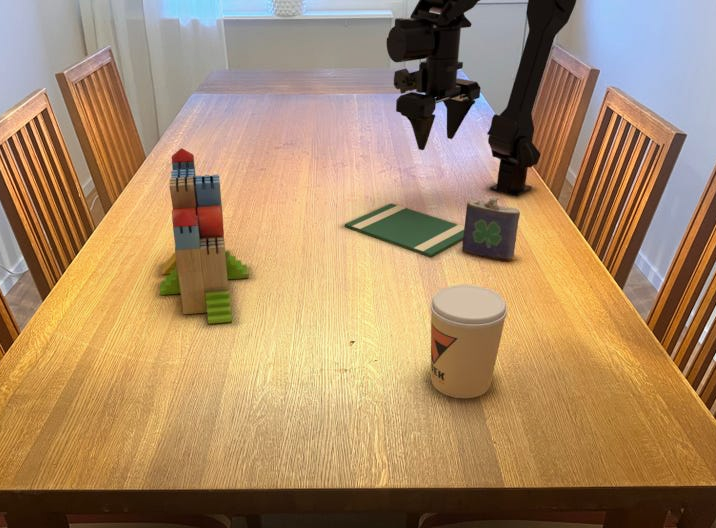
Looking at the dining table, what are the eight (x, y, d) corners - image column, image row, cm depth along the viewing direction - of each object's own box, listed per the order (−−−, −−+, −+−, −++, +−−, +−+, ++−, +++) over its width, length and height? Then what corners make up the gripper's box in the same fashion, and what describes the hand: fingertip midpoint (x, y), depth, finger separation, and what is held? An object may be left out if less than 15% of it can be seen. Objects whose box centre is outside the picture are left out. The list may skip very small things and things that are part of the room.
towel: (390, 206, 149) (391, 202, 149) (475, 233, 138) (476, 229, 137) (344, 226, 140) (344, 223, 140) (431, 257, 129) (431, 254, 129)
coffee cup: (418, 363, 101) (424, 284, 95) (486, 360, 102) (496, 281, 95) (432, 404, 93) (439, 321, 87) (505, 400, 94) (517, 318, 88)
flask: (515, 257, 129) (523, 198, 123) (509, 264, 127) (518, 204, 121) (464, 246, 133) (470, 189, 127) (458, 253, 131) (464, 194, 125)
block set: (255, 321, 111) (246, 197, 100) (158, 329, 109) (139, 203, 98) (243, 243, 134) (235, 136, 124) (163, 248, 132) (148, 140, 122)
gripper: (436, 42, 142) (430, 125, 151) (373, 57, 131) (371, 146, 139) (485, 50, 136) (477, 136, 145) (425, 67, 124) (419, 159, 133)
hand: (435, 143), depth 140 cm, fingers open, 9 cm apart
